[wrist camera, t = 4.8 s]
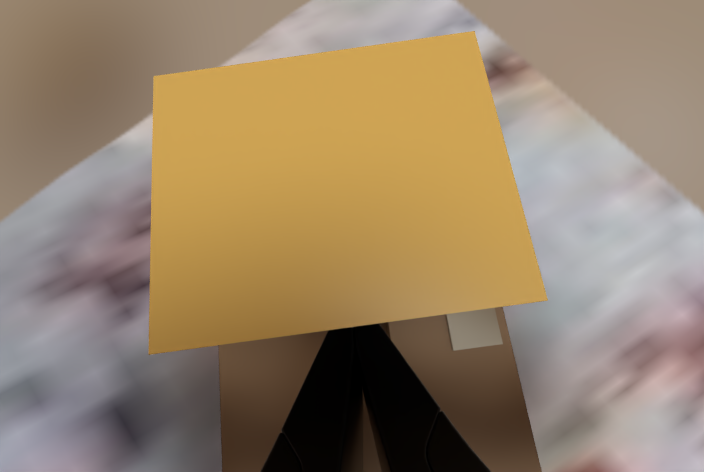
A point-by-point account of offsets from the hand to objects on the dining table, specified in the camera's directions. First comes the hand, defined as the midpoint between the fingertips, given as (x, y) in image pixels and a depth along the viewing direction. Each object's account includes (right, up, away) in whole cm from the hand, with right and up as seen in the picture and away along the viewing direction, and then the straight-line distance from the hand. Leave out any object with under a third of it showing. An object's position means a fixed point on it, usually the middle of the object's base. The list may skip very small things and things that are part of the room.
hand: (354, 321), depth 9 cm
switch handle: (0, +1, +7) cm, 7 cm away
